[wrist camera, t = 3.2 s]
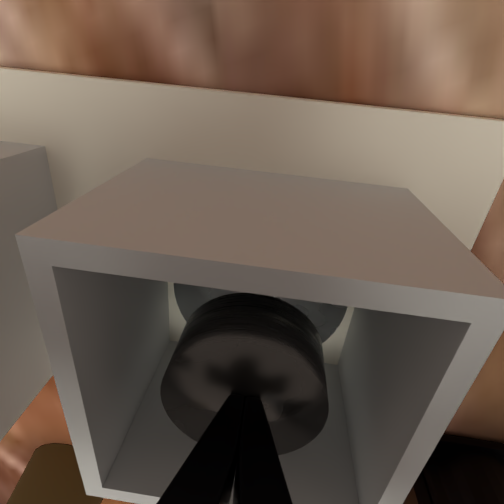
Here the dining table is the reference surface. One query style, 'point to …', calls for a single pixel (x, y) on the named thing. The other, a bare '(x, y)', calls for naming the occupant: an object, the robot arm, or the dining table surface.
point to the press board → (241, 265)
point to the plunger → (250, 361)
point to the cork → (52, 479)
